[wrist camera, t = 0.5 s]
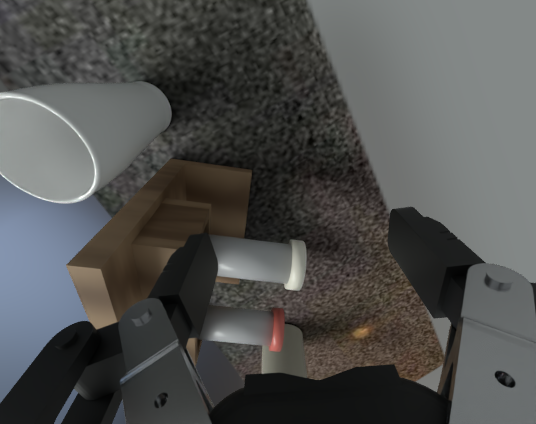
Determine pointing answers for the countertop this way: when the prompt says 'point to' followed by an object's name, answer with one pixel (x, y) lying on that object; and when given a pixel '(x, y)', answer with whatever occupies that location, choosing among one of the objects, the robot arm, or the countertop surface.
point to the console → (158, 236)
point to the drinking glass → (76, 135)
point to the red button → (244, 326)
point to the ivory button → (261, 260)
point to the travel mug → (286, 355)
